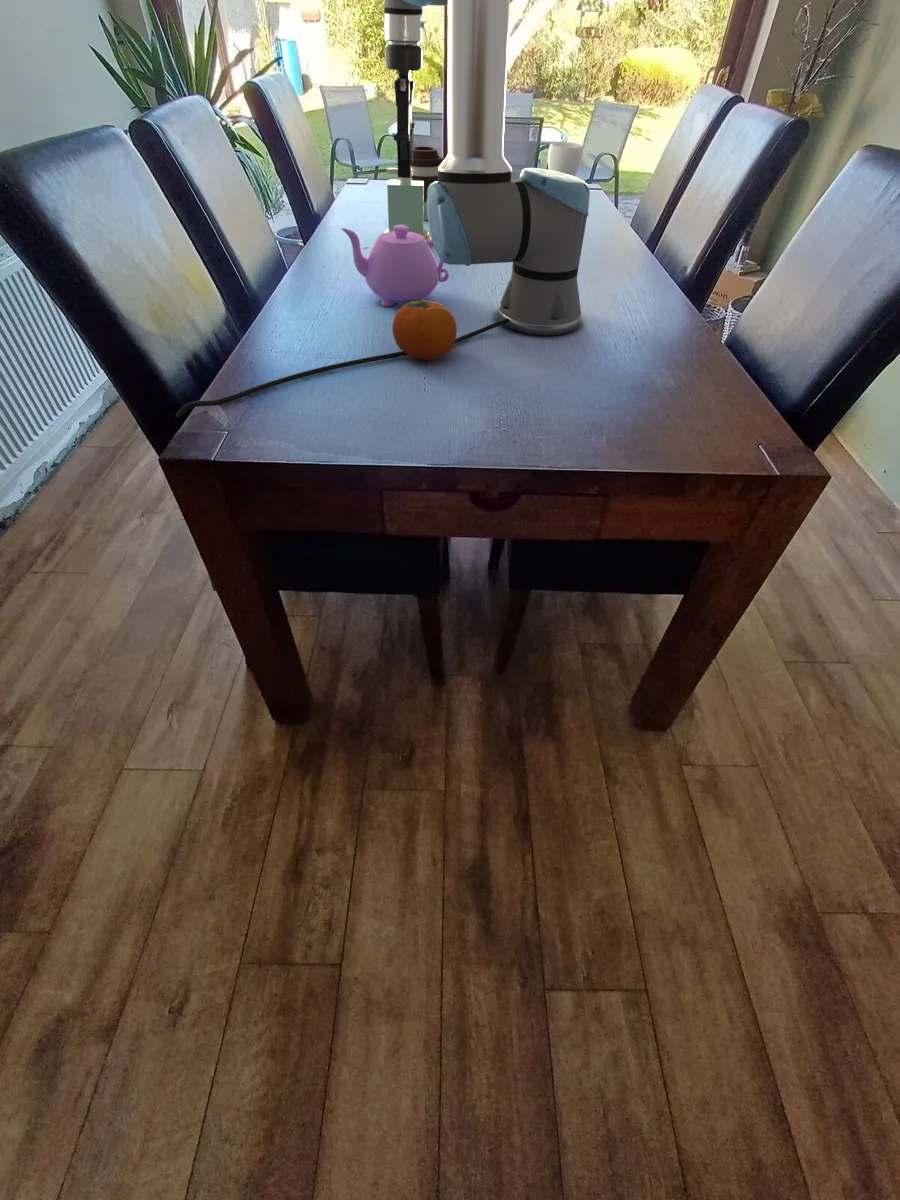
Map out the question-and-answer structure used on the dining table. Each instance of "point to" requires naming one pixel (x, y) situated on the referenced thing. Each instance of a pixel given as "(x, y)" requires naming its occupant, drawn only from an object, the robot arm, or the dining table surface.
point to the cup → (565, 157)
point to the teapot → (399, 265)
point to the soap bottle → (406, 204)
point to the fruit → (424, 329)
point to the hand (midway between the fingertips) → (405, 170)
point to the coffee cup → (425, 168)
